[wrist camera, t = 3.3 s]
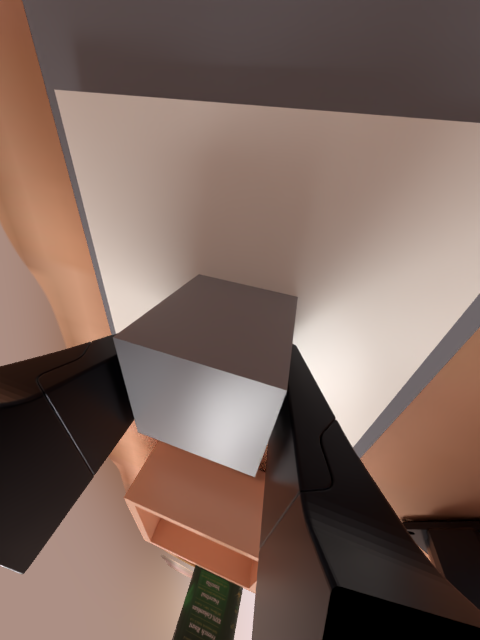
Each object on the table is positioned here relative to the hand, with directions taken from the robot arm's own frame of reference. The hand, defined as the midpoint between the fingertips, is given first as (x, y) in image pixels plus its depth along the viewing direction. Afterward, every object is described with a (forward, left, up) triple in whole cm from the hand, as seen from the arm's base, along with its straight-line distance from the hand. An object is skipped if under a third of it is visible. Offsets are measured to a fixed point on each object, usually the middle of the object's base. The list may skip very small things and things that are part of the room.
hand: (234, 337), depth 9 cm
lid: (0, 0, -2) cm, 2 cm away
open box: (-12, +17, -2) cm, 21 cm away
